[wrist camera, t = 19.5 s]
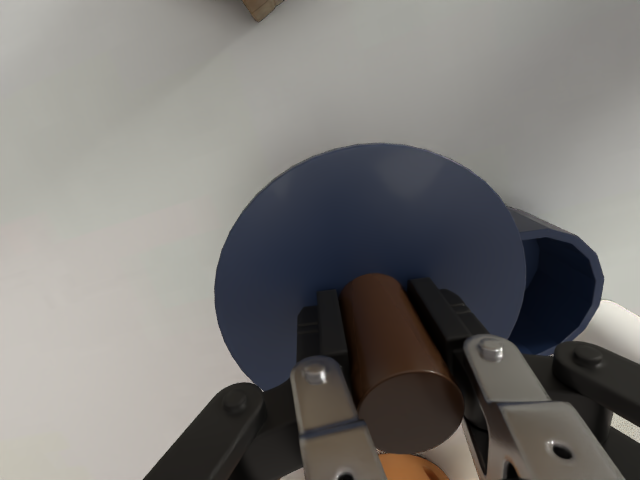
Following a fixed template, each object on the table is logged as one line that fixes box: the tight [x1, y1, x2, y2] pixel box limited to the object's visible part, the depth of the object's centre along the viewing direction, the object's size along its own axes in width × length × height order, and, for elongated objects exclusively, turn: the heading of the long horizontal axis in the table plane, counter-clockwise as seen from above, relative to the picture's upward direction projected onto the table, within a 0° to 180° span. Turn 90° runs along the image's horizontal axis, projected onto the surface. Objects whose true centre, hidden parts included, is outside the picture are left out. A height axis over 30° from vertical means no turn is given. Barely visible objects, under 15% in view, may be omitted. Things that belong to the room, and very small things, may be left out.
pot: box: [506, 206, 604, 356], centre depth 27 cm, size 10×10×6 cm
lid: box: [214, 143, 526, 455], centre depth 11 cm, size 11×11×6 cm
